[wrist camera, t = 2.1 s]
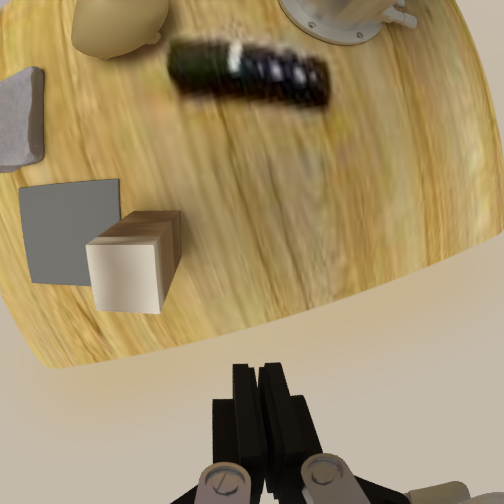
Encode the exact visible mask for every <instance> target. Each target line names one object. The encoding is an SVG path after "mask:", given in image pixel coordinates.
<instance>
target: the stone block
mask: <svg viewBox="0 0 504 504" xmlns="http://www.w3.org/2000/svg"><path fill="white" fill-rule="evenodd" d="M43 93H44V75H43V73H42V71H41V70H40V69H39V68H38V67H35V66H32V67H28V68H25V69H24V70H22V71H20V72H18V73H16V74H15V75H13V76H11V77H8V78H7V79H5V80H2V81H1V82H0V173H4V172H8V173H10V172H14V171H15V170H17V169H20V168H21V167H22V166H26V165H30V164H33V163H36V162H38V161H40V160H41V159H43V157H44V134H43Z"/></svg>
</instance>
